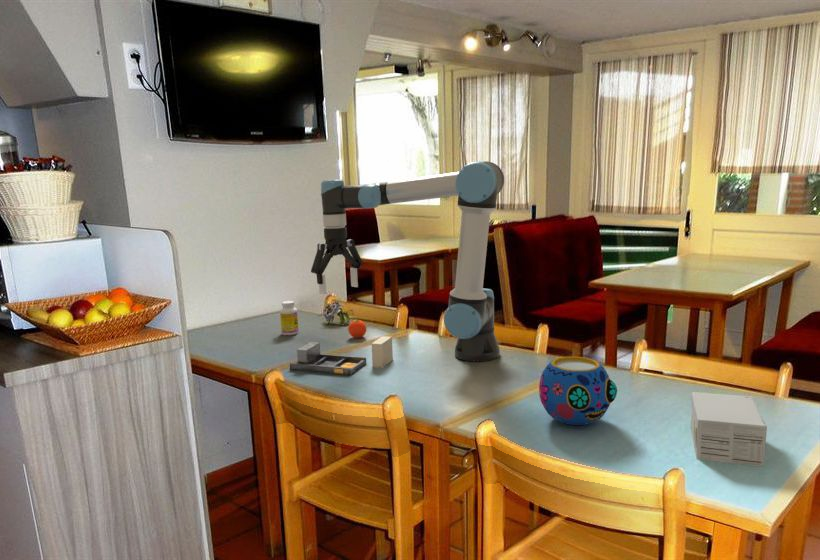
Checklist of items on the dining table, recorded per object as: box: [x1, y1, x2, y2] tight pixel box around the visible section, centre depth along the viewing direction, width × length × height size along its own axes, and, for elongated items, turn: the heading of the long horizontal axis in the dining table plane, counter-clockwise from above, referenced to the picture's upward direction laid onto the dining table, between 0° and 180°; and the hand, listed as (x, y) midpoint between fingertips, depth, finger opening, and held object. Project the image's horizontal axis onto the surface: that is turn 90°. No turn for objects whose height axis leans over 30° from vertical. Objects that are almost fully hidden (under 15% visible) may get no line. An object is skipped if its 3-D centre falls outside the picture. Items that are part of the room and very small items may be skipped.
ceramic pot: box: [538, 356, 618, 426], centre depth 154 cm, size 18×18×15 cm
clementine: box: [347, 319, 367, 339], centre depth 238 cm, size 8×7×7 cm
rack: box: [289, 341, 367, 376], centre depth 204 cm, size 22×12×7 cm, turn 70°
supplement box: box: [690, 391, 768, 468], centre depth 138 cm, size 17×13×9 cm
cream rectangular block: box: [370, 335, 394, 369], centre depth 206 cm, size 4×9×8 cm, turn 160°
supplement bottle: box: [279, 300, 299, 336], centre depth 247 cm, size 7×7×13 cm
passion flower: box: [322, 299, 355, 325], centre depth 262 cm, size 11×11×12 cm
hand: (339, 290), depth 210 cm, fingers open, 13 cm apart
